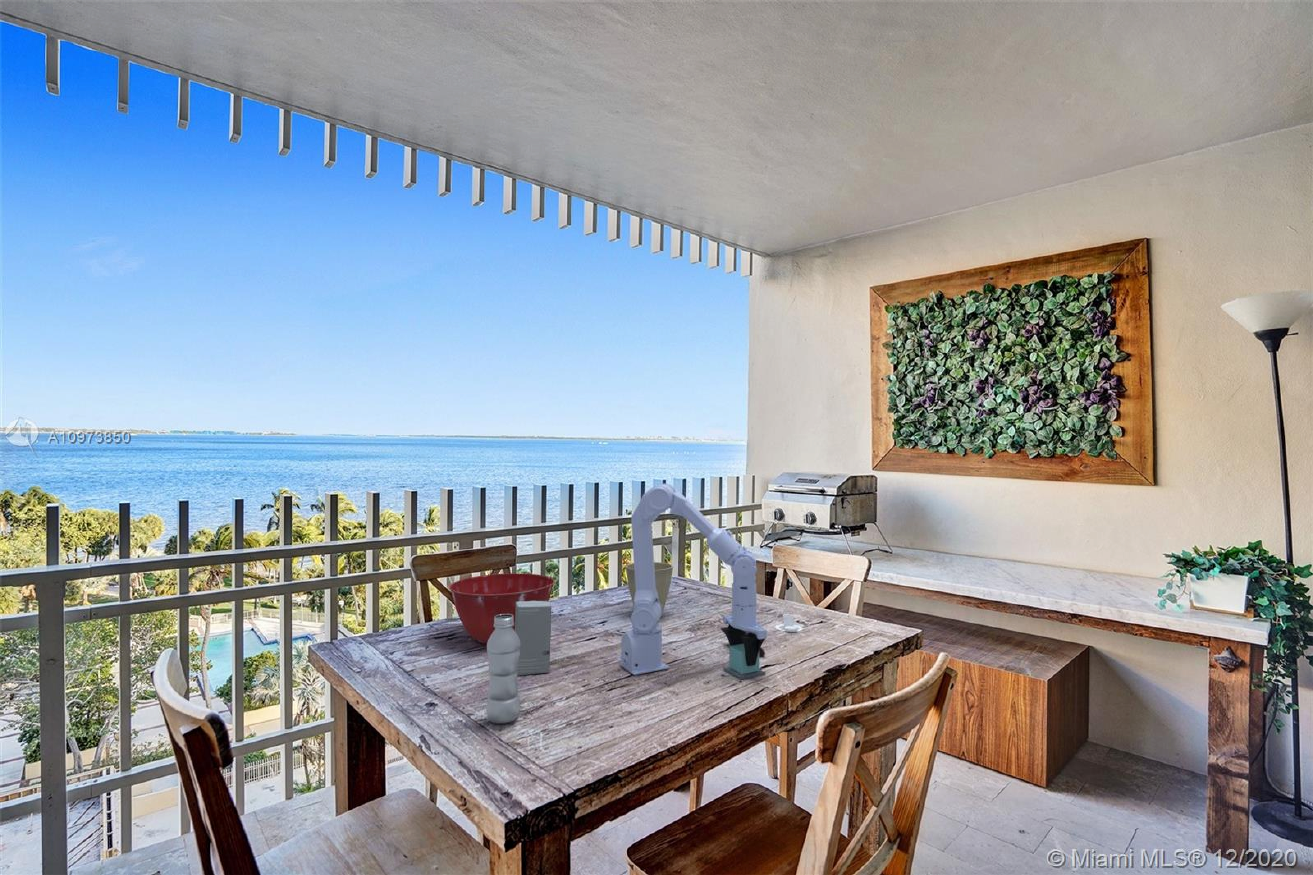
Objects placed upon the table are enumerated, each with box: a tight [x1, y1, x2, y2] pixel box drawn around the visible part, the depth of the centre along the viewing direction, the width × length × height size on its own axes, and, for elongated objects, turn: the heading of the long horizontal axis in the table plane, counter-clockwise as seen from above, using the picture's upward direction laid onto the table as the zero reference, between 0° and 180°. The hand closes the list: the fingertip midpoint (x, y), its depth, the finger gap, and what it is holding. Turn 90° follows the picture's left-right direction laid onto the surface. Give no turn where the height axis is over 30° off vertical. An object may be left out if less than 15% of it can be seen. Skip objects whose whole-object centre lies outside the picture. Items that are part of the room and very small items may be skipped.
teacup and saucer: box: [774, 613, 804, 633], centre depth 179 cm, size 9×8×4 cm
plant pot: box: [625, 561, 674, 611], centre depth 191 cm, size 15×15×16 cm
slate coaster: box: [722, 666, 766, 681], centre depth 143 cm, size 7×7×1 cm
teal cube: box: [728, 644, 760, 674], centre depth 143 cm, size 5×5×5 cm
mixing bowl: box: [448, 572, 556, 645], centre depth 169 cm, size 28×28×16 cm
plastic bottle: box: [485, 614, 521, 725], centre depth 118 cm, size 6×7×20 cm
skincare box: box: [515, 600, 552, 677], centre depth 145 cm, size 8×7×16 cm
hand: (744, 661), depth 143 cm, fingers closed on teal cube, 5 cm apart
